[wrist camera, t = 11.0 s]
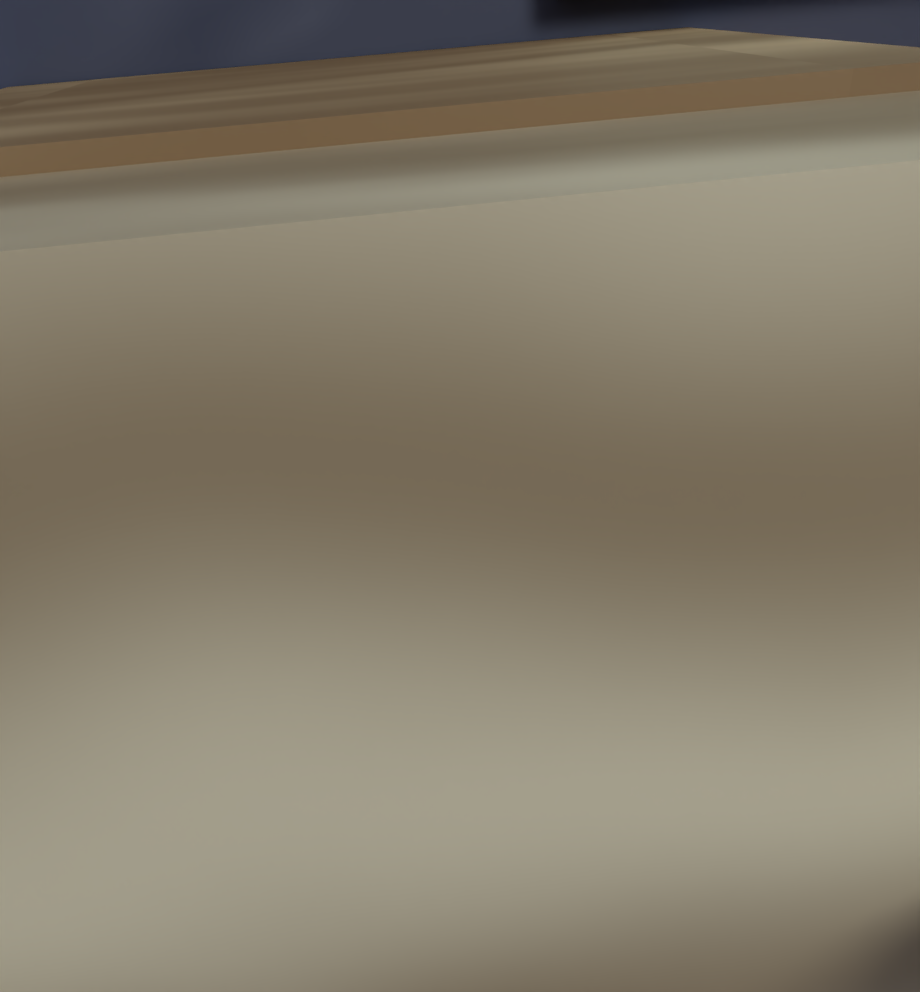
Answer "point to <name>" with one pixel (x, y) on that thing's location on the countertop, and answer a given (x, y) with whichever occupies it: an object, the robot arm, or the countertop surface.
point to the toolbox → (430, 95)
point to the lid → (467, 562)
